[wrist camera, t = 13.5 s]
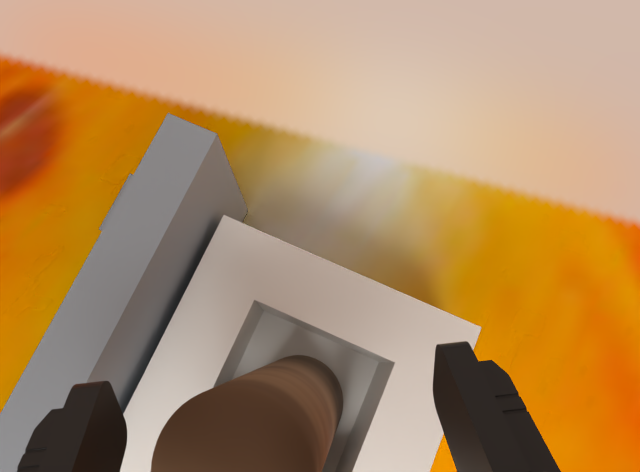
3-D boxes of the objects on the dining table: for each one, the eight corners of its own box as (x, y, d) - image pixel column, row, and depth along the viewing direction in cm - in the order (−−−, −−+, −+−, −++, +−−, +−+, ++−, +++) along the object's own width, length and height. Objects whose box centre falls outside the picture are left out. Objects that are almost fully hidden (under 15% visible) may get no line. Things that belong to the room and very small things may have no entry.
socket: (357, 566, 25) (373, 629, 19) (135, 459, 26) (85, 488, 20) (444, 334, 28) (481, 327, 22) (240, 244, 29) (223, 214, 23)
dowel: (324, 462, 25) (278, 594, 13) (241, 427, 26) (125, 521, 14) (356, 374, 25) (338, 423, 14) (273, 341, 26) (187, 361, 14)
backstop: (62, 587, 24) (-103, 739, 14) (-31, 539, 25) (-253, 658, 15) (248, 210, 29) (217, 133, 19) (167, 175, 29) (95, 82, 19)
